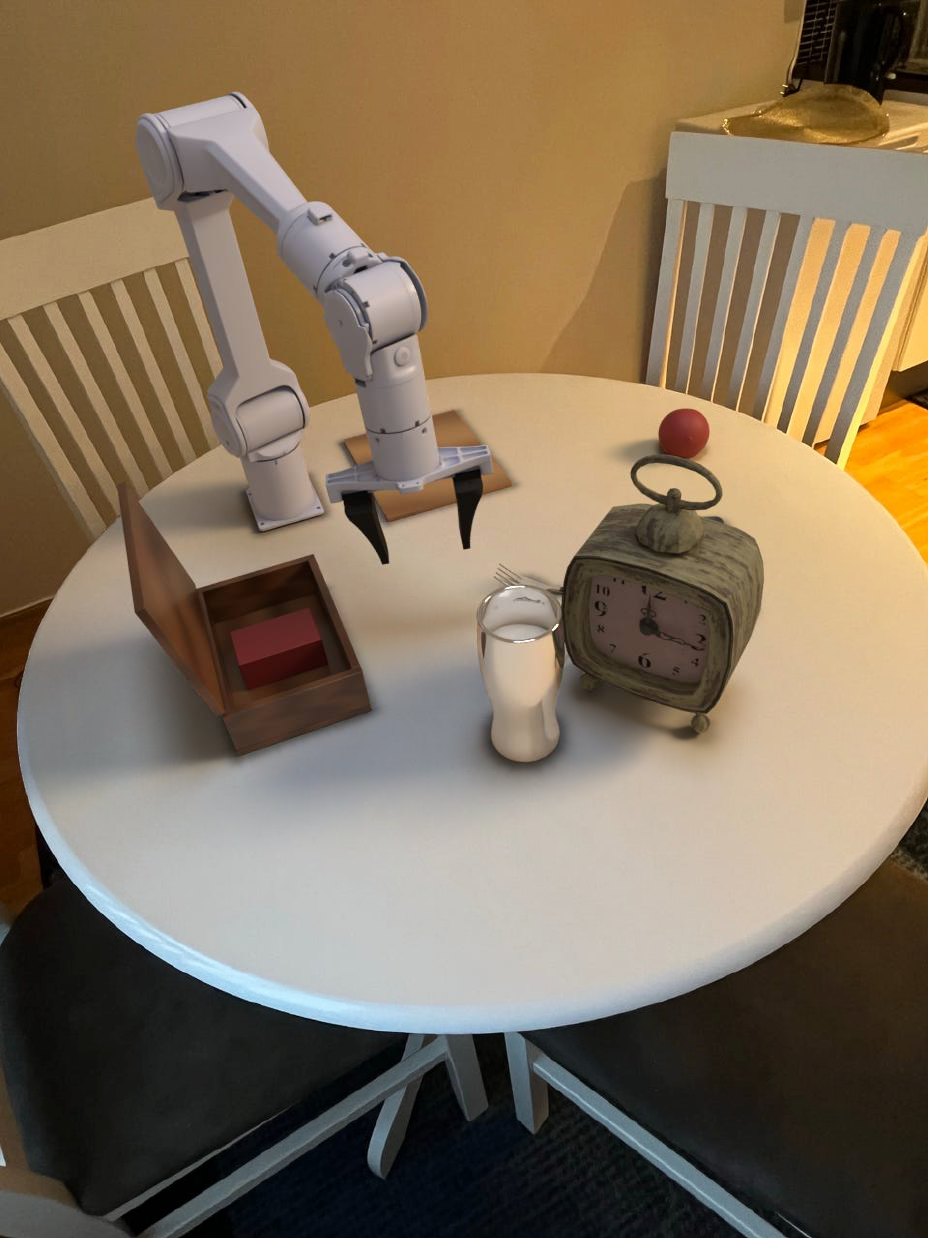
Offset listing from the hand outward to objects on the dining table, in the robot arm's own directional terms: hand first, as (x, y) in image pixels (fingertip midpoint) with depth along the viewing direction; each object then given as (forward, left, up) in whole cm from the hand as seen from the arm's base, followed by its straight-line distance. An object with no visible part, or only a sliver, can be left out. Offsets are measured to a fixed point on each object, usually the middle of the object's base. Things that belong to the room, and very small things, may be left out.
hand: (425, 550), depth 78 cm
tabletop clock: (+17, +15, -10) cm, 25 cm away
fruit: (-15, +38, -10) cm, 43 cm away
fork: (+2, +14, -10) cm, 18 cm away
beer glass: (+17, +2, -10) cm, 20 cm away
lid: (-1, -23, +2) cm, 23 cm away
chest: (-1, -16, -10) cm, 19 cm away
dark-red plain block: (-1, -16, -9) cm, 18 cm away
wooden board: (-29, +9, -10) cm, 32 cm away
